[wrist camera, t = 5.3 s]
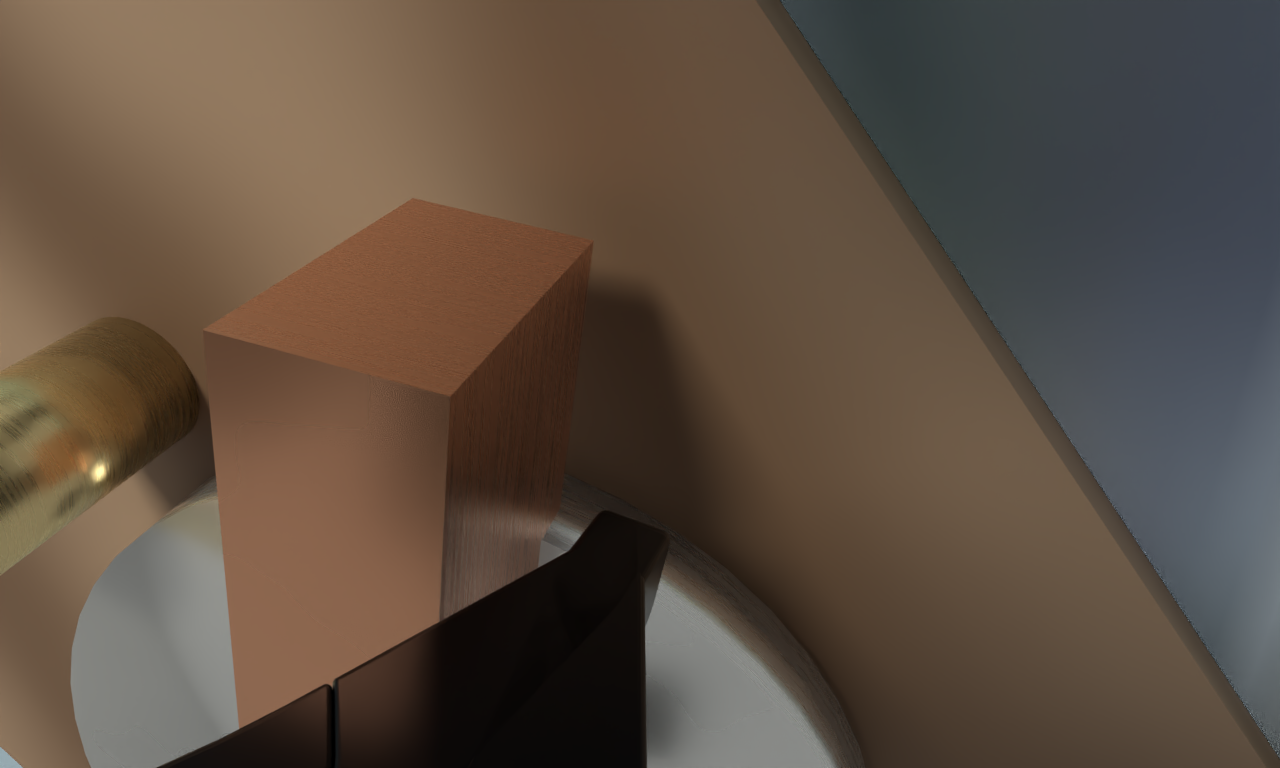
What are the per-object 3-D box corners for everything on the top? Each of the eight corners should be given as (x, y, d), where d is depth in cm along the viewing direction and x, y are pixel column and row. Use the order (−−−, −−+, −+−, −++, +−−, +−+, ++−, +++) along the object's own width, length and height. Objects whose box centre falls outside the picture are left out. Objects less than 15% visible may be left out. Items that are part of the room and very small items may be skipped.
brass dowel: (122, 291, 12) (-103, 407, 9) (226, 404, 12) (36, 545, 10) (51, 360, 13) (-173, 484, 10) (150, 463, 13) (-41, 608, 10)
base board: (434, -523, 8) (377, -570, 7) (1485, 1071, 13) (1524, 1155, 12) (-264, 414, 17) (-329, 444, 16) (538, 1172, 22) (521, 1226, 21)
